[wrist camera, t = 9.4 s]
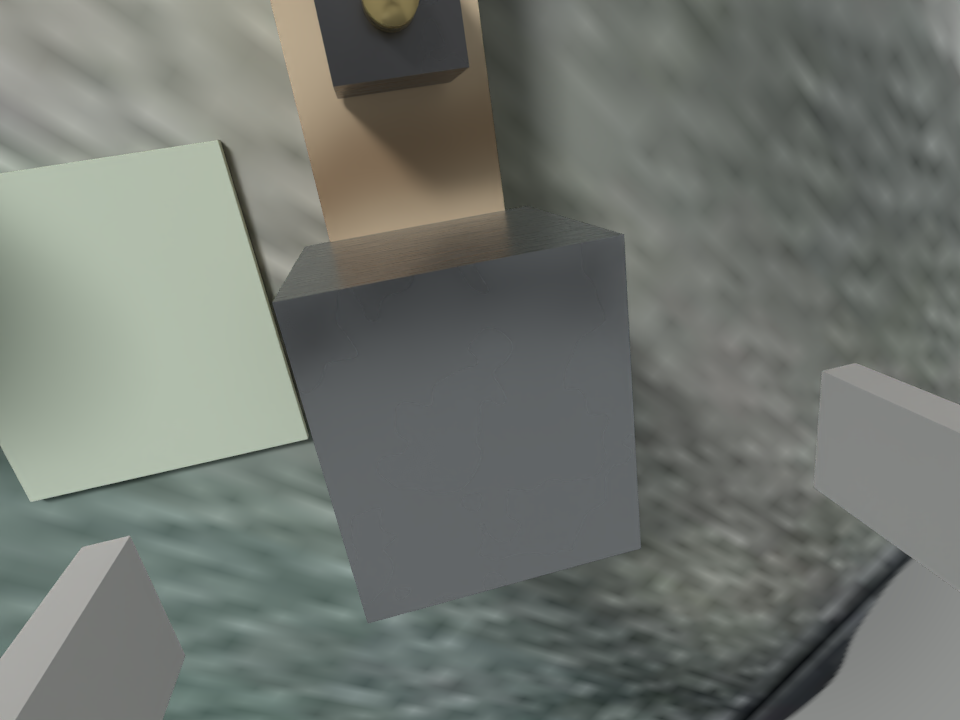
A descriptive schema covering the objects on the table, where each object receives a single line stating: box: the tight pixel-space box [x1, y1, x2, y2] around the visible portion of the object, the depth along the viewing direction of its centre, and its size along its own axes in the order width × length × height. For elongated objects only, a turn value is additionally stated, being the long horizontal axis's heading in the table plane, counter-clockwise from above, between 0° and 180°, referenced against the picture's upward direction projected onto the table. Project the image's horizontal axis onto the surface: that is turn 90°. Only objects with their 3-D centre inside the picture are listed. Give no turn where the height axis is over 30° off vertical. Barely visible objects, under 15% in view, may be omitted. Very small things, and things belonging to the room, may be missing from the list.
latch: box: [314, 0, 469, 99], centre depth 13 cm, size 3×3×4 cm
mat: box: [0, 140, 309, 502], centre depth 21 cm, size 12×11×1 cm
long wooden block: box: [270, 0, 505, 242], centre depth 19 cm, size 22×6×5 cm, turn 9°
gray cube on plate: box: [272, 206, 641, 623], centre depth 16 cm, size 8×7×7 cm
